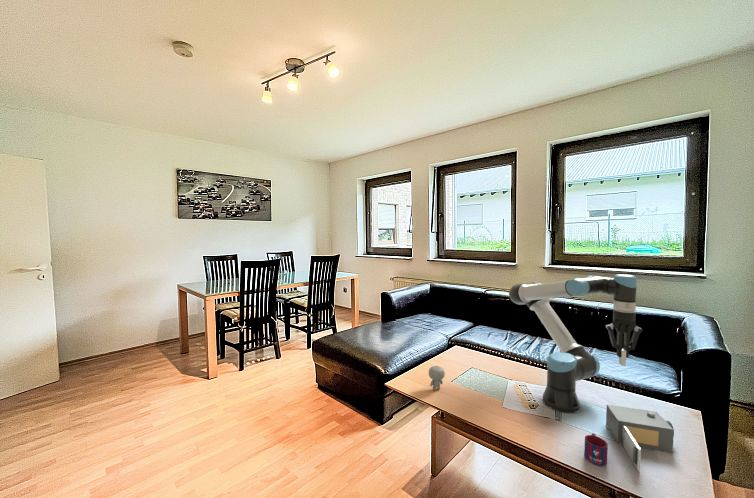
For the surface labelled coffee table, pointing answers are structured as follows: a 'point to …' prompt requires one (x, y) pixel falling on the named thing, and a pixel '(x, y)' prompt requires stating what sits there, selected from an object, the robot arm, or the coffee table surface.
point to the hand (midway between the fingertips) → (622, 364)
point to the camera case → (641, 427)
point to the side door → (631, 447)
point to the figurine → (436, 376)
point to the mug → (596, 450)
